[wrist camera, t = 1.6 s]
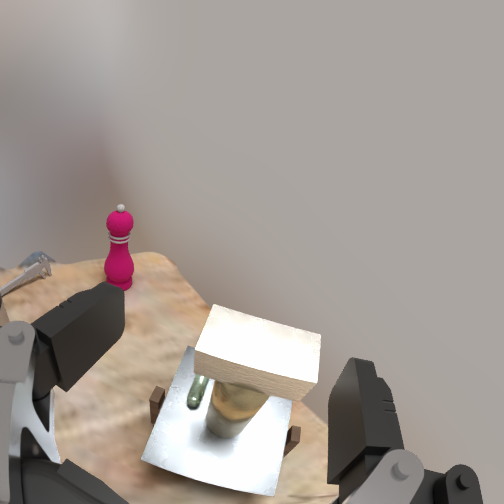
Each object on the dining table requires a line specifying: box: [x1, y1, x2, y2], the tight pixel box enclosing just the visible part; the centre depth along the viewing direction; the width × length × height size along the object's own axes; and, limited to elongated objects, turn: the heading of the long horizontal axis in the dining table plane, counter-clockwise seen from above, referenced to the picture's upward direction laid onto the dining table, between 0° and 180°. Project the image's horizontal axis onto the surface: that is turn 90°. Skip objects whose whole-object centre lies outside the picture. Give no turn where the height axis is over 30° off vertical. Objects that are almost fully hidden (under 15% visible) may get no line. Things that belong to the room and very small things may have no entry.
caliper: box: [0, 255, 51, 296], centre depth 46 cm, size 20×1×6 cm, turn 150°
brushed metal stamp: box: [141, 304, 321, 496], centre depth 24 cm, size 18×16×21 cm
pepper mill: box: [104, 204, 134, 291], centre depth 57 cm, size 7×7×20 cm
